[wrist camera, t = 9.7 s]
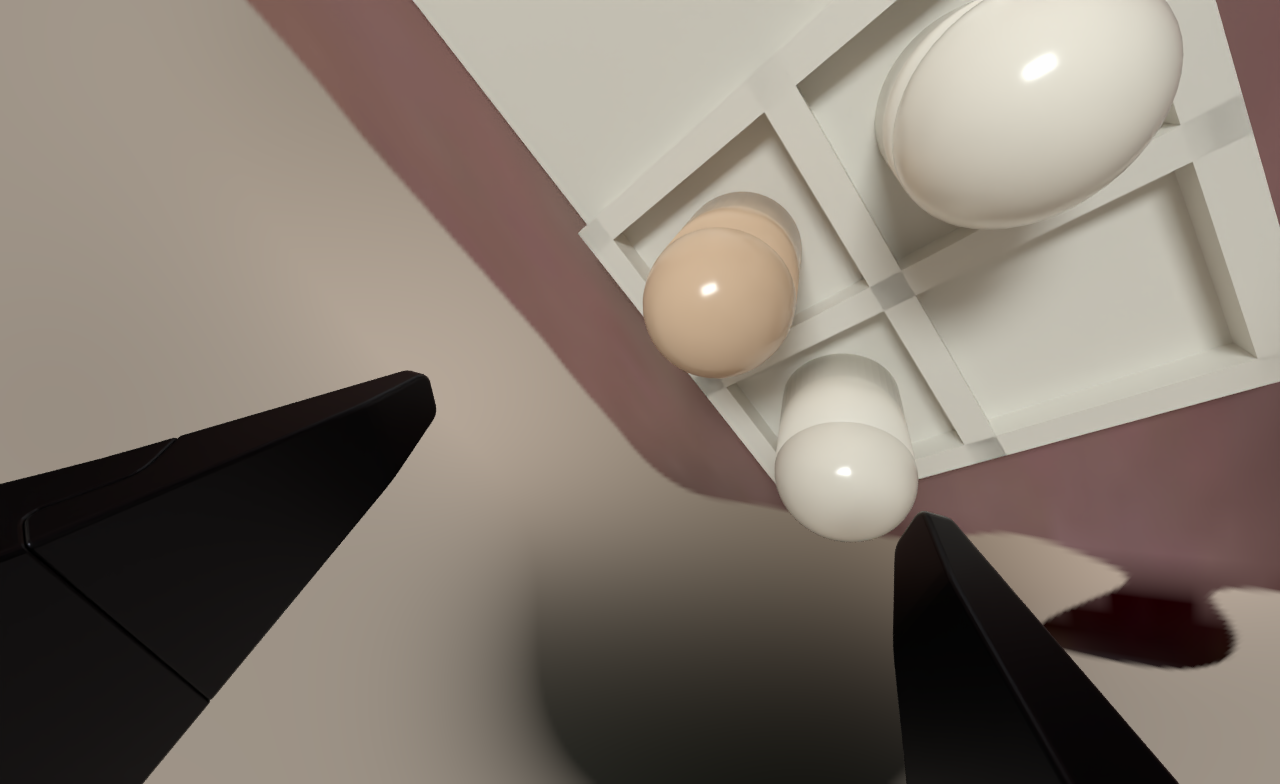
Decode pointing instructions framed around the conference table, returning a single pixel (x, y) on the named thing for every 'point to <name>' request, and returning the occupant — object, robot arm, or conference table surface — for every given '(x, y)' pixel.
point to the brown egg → (725, 287)
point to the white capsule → (845, 449)
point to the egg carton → (898, 213)
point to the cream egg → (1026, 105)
